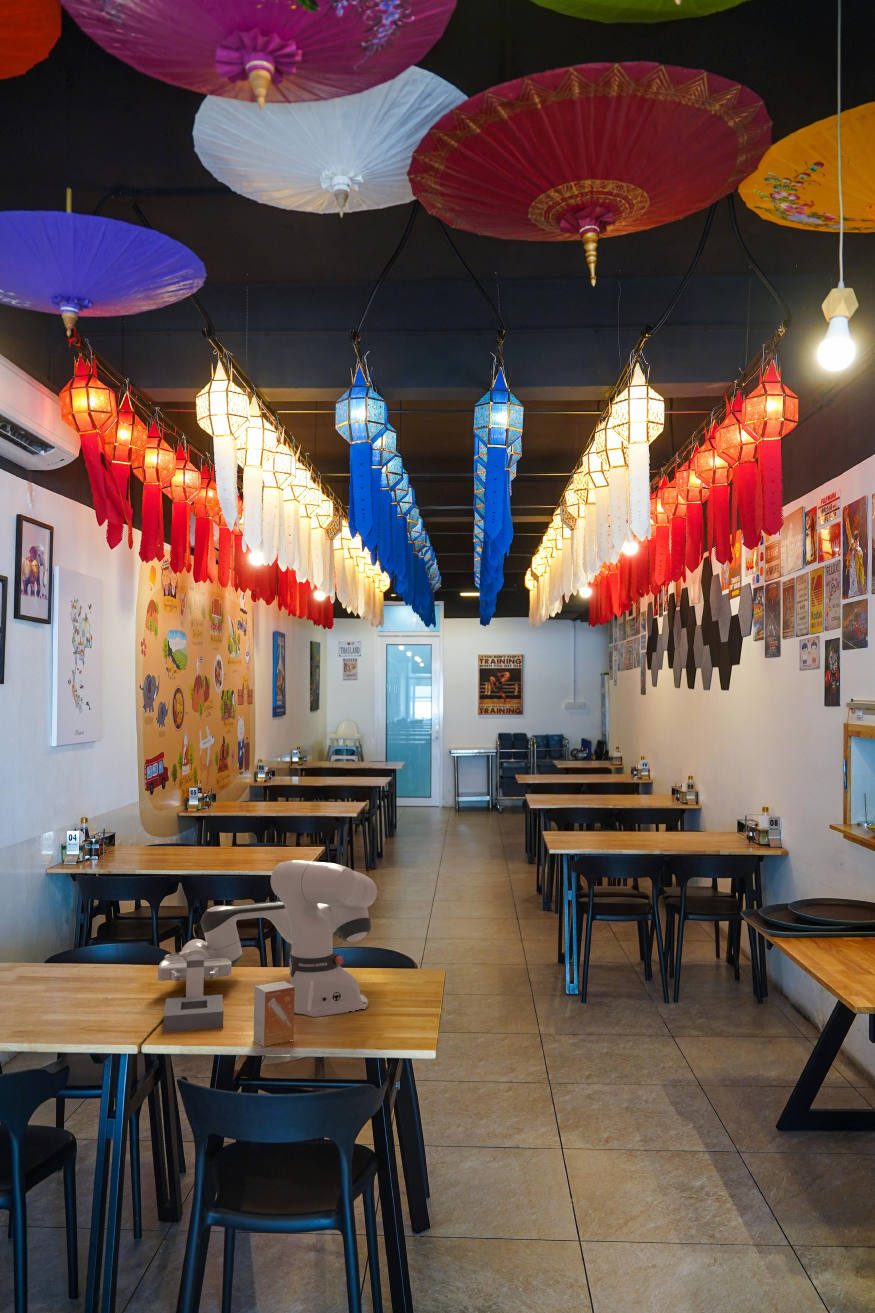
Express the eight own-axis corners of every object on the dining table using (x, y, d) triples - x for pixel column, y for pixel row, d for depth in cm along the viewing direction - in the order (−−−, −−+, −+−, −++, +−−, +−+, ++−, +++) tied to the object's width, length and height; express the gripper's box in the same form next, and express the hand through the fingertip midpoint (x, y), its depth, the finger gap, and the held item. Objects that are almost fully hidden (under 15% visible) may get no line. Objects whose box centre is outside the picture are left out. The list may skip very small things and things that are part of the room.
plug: (203, 999, 249) (204, 955, 250) (203, 1004, 244) (203, 959, 245) (186, 1000, 247) (187, 956, 248) (185, 1005, 243) (186, 960, 244)
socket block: (222, 1010, 239) (222, 994, 240) (223, 1027, 225) (223, 1011, 226) (165, 1014, 236) (166, 998, 236) (163, 1032, 222) (163, 1016, 222)
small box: (263, 1048, 211) (264, 992, 212) (252, 1040, 216) (253, 985, 217) (294, 1041, 216) (295, 986, 217) (282, 1033, 221) (283, 980, 222)
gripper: (231, 972, 262) (233, 986, 248) (158, 977, 257) (156, 991, 243) (231, 950, 262) (233, 962, 249) (159, 955, 257) (157, 968, 244)
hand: (194, 977), depth 246 cm, fingers open, 8 cm apart
